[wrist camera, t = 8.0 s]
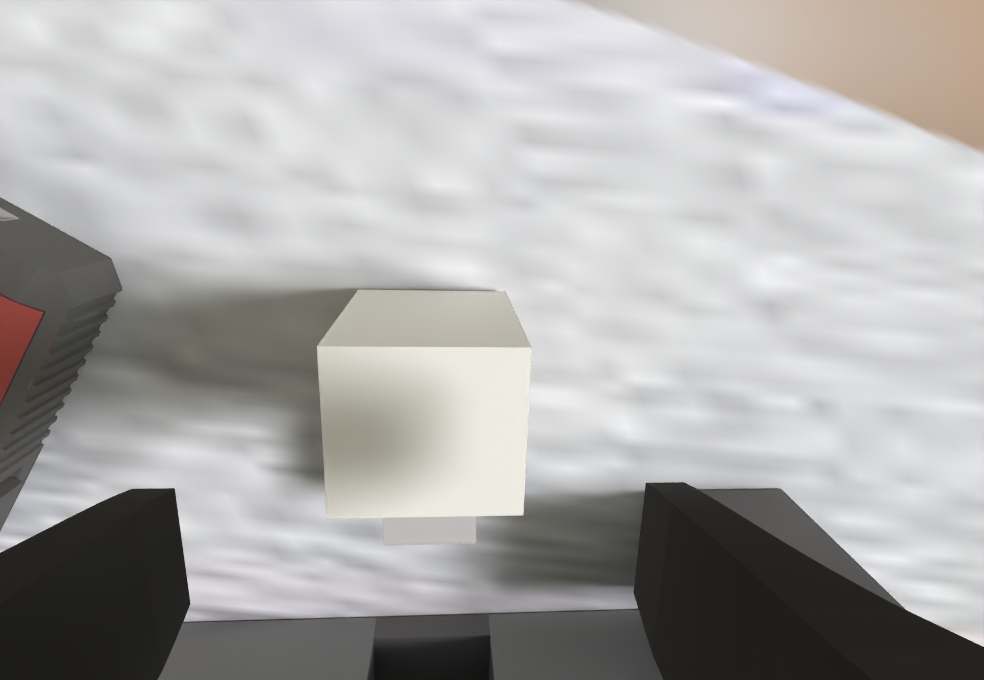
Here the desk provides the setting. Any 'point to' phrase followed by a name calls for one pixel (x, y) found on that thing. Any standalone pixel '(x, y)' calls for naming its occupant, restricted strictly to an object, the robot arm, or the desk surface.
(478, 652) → the grey slotted block
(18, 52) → the desk surface
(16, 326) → the walkie-talkie
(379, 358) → the block
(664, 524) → the robot arm
